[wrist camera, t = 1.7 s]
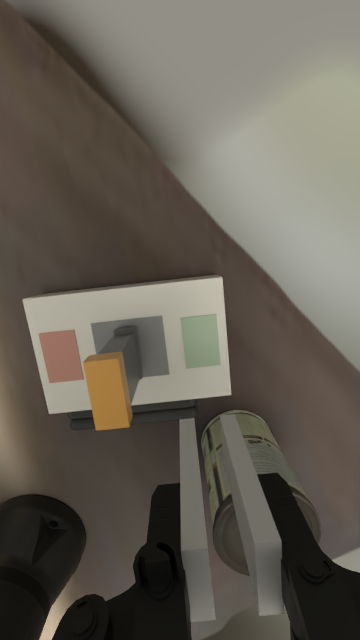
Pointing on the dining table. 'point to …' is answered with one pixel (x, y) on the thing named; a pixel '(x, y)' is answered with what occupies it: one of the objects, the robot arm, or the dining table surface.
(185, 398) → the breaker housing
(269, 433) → the coffee can
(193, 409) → the long thin dark rod
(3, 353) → the dining table surface
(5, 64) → the dining table surface
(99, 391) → the breaker lever
